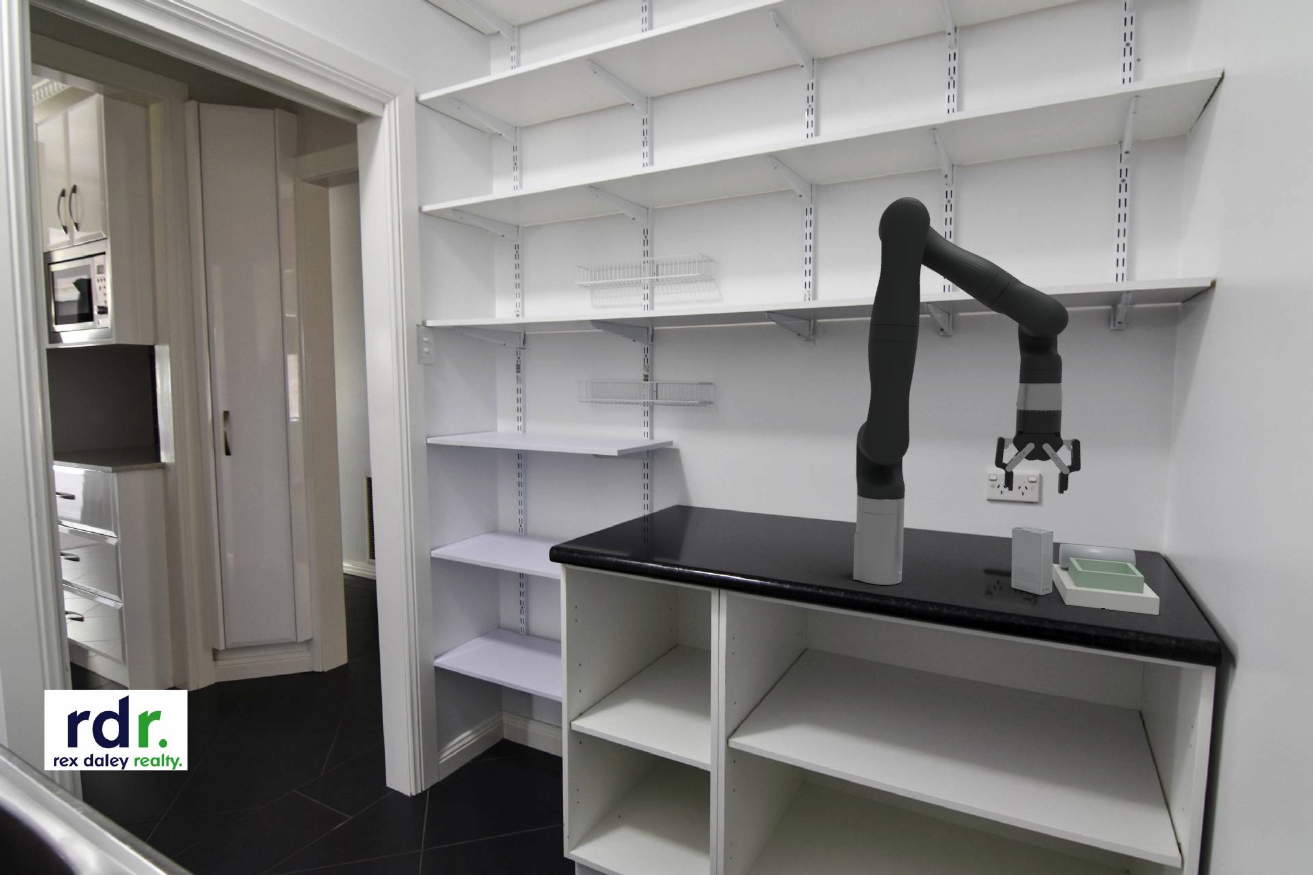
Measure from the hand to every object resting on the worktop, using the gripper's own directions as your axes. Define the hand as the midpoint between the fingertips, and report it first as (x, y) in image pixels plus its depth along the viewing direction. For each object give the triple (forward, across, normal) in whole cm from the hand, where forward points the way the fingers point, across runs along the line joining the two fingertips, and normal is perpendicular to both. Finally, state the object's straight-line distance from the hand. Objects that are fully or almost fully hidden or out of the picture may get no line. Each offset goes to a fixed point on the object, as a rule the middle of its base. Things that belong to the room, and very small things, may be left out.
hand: (1035, 491), depth 131 cm
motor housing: (+19, +12, +2) cm, 23 cm away
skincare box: (+20, 0, 0) cm, 20 cm away
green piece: (+16, +12, 0) cm, 20 cm away
